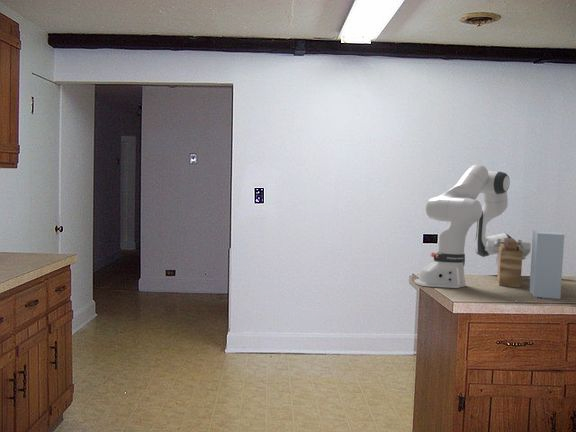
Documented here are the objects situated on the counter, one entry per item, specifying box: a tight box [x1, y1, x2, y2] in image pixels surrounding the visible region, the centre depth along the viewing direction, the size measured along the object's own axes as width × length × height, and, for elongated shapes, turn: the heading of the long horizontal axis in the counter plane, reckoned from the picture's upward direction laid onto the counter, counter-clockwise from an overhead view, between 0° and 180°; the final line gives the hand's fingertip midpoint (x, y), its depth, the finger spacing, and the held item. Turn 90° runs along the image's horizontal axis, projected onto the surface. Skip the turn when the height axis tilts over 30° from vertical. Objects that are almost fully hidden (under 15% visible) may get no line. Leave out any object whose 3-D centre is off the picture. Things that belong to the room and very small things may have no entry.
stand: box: [528, 230, 565, 300], centre depth 250 cm, size 16×10×26 cm, turn 164°
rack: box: [496, 244, 523, 288], centre depth 276 cm, size 16×9×18 cm, turn 164°
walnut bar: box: [504, 237, 518, 251], centre depth 277 cm, size 20×4×4 cm, turn 164°
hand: (509, 240), depth 284 cm, fingers open, 8 cm apart
